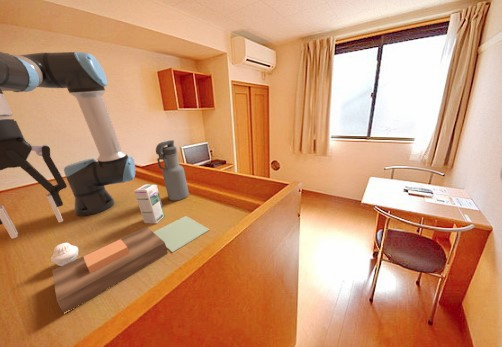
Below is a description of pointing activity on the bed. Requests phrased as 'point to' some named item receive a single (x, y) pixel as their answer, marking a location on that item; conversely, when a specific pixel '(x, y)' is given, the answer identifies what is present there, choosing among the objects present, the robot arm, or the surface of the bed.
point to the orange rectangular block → (105, 255)
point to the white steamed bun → (64, 254)
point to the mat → (180, 233)
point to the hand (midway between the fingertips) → (38, 227)
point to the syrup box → (150, 203)
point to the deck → (105, 270)
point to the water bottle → (172, 171)
